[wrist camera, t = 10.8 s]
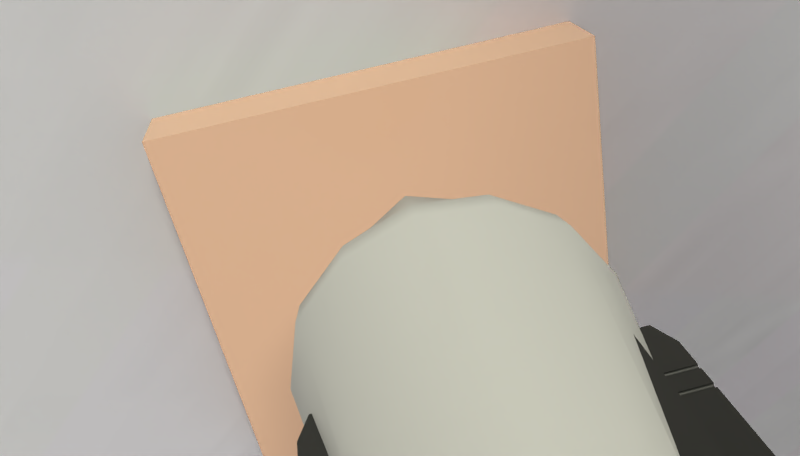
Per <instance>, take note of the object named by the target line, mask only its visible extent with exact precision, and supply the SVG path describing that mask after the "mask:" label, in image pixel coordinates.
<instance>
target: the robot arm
mask: <svg viewBox="0 0 800 456" xmlns="http://www.w3.org/2000/svg"><path fill="white" fill-rule="evenodd" d="M640 330H641V333H642V335H643V337H644V340H645V342H646V344H647V347H648V349H649V351H650V354H651V356H652V358H653V359H652V358H651V356H650V355H649V354H648V352H647V351H646V350H645V349H644V347H643V346H642V345H641V343H640V342H639V341H638V339H637V338H636V337H635V335H634V337H635V339H636V342H637V345H638V347H639V350H640V353H641V355H642V358H643V360H644V363H645V366H646V368H647V371H648V374H649V376H650V379H651V382H652V384H653V387H654V389H655V392H656V395H657V397H658V400H659V403H660V405H661V408H662V410H663V413H664V416H665V418H666V421H667V424H668V426H669V429H670V431H671V434H672V437H673V439H674V442H675V445H676V447H677V450H678V452H679V455H680V456H775V455H774V454H773V453H772V451H771V450H770V449H769V448H768V447H767V446H766V444H765V443H764V442H763V441H762V440H761V438H760V437H759V436H758V435H757V434H756V432H755V431H754V430H753V429H752V428H751V427H750V425H749V424H748V423H747V422H746V421H745V419H744V418H743V417H742V416H741V415H740V414H739V412H738V411H737V410H736V409H735V408H734V406H733V405H732V404H731V403H730V402H729V400H728V399H727V398H726V397H725V396H724V395H723V393H722V392H721V391H720V390H719V389H718V387H716V388H715V387H714V384H713V382H712V380H711V379H710V378H709V377H708V376H707V374H706V373H705V372H704V371H703V370H702V369H699V367H698V364H697V363H696V361H695V360H694V359H693V358H692V357H691V355H690V354H689V353H688V352H687V351H686V350H685V348H684V347H683V346H682V345H681V344H680V342H679V341H677V340H675V339H673V338H672V337H670V336H668V335H666V334H664V333H663V332H661V331H659V330H657V329H655V328H654V327H652V326H650V325H649V326H645V327H641V328H640ZM297 454H298V456H329V455H328V453H327V450H326V448H325V445H324V443H323V440H322V438H321V435H320V433H319V431H318V428H317V426H316V423H315V421H314V418H313V416H312V414H309V415H308V417H307V420H306V422H305V424H304V426H303V429H302V431H301V433H300V436H299V438H298V440H297Z"/></svg>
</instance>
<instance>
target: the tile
mask: <svg viewBox="0 0 800 456" xmlns="http://www.w3.org/2000/svg"><path fill="white" fill-rule="evenodd" d="M142 143H143V146H144V148H145V151H146V153H147V156H148V159H149V161H150V164H151V166H152V169H153V172H154V174H155V177H156V179H157V182H158V184H159V187H160V190H161V192H162V195H163V197H164V200H165V203H166V205H167V208H168V210H169V213H170V216H171V218H172V221H173V223H174V226H175V229H176V231H177V234H178V236H179V239H180V241H181V244H182V247H183V249H184V252H185V254H186V257H187V260H188V262H189V265H190V267H191V270H192V273H193V275H194V278H195V280H196V283H197V285H198V288H199V291H200V293H201V296H202V298H203V301H204V304H205V306H206V309H207V311H208V314H209V317H210V319H211V322H212V324H213V327H214V330H215V332H216V335H217V337H218V340H219V342H220V345H221V348H222V350H223V353H224V355H225V358H226V361H227V363H228V366H229V368H230V371H231V374H232V376H233V379H234V381H235V384H236V387H237V389H238V392H239V394H240V397H241V399H242V402H243V405H244V407H245V410H246V412H247V415H248V418H249V420H250V423H251V425H252V428H253V431H254V433H255V436H256V438H257V441H258V444H259V446H260V449H261V451H262V454H263V456H298V454H297V440H298V438H299V436H300V433H301V431H302V429H303V426H304V424H303V422H302V419H301V416H300V414H299V411H298V408H297V405H296V403H295V400H294V397H293V395H292V392H291V389H290V388H291V375H292V361H293V347H294V334H295V322H296V318H297V314H298V310H299V306H300V304H301V303H302V301H303V300H304V299H305V297H306V296H307V295H308V293H309V292H310V290H311V289H312V288H313V286H314V285H315V283H316V282H317V281H318V279H319V278H320V277H321V275H322V274H323V272H324V271H325V270H326V268H327V267H328V265H329V264H330V263H331V261H332V260H333V259H334V257H335V256H336V254H337V253H338V252H339V250H340V249H341V248H342V246H343V245H345V244H347V243H348V242H350V241H351V240H353V239H354V238H356V237H357V236H359V235H360V234H362V233H363V232H365V231H367V230H368V229H370V228H371V227H372V226H373V225H374V224H375V223H376V222H377V221H378V220H380V219H381V218H382V217H383V216H384V215H385V214H386V213H387V212H388V211H389V210H390V209H391V208H393V207H394V206H395V205H396V204H397V203H398V202H399V201H400V200H401V199H402V198H403V197H404V196H415V197H429V198H443V199H457V198H465V197H473V196H481V195H492V196H495V197H499V198H502V199H505V200H509V201H512V202H515V203H519V204H522V205H525V206H529V207H532V208H535V209H539V210H542V211H546V212H549V213H552V214H556V215H557V216H559V217H560V218H561V219H563V220H564V221H565V222H567V223H568V224H569V225H571V226H572V227H573V228H574V229H575V230H576V232H577V233H578V234H579V235H580V236H581V237H582V238H583V239H584V240H585V241H586V242H587V243H588V244H589V245H590V247H591V248H592V249H593V250H594V251H595V252H596V253H597V254H598V255H599V256H600V257H601V258H602V259H603V260H604V261H605V263H606V264H607V265H608V251H607V234H606V217H605V200H604V183H603V166H602V149H601V132H600V115H599V98H598V81H597V64H596V47H595V36H594V35H592V34H591V33H589V32H587V31H585V30H584V29H582V28H580V27H578V26H577V25H575V24H573V23H571V22H570V21H568V22H564V23H559V24H555V25H551V26H547V27H542V28H538V29H534V30H530V31H525V32H521V33H517V34H512V35H508V36H504V37H500V38H495V39H491V40H487V41H483V42H478V43H474V44H470V45H465V46H461V47H457V48H453V49H448V50H444V51H440V52H436V53H431V54H427V55H423V56H418V57H414V58H410V59H406V60H401V61H397V62H393V63H389V64H384V65H380V66H376V67H371V68H367V69H363V70H359V71H354V72H350V73H346V74H342V75H337V76H333V77H329V78H324V79H320V80H316V81H312V82H307V83H303V84H299V85H295V86H290V87H286V88H282V89H277V90H273V91H269V92H265V93H260V94H256V95H252V96H248V97H243V98H239V99H235V100H230V101H226V102H222V103H218V104H213V105H209V106H205V107H201V108H196V109H192V110H188V111H183V112H179V113H175V114H171V115H166V116H162V117H158V118H154V119H152V120H151V123H150V125H149V127H148V129H147V132H146V134H145V136H144V139H143V141H142Z"/></svg>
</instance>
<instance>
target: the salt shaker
mask: <svg viewBox="0 0 800 456" xmlns="http://www.w3.org/2000/svg"><path fill="white" fill-rule="evenodd" d="M634 335H635V337H636V338H637V339H638V341H639V342H640V343H641V345H642V346H643V347H644V349H645V350H646V351H647V352H648V354H649V355H650V356H651V354H650V351H649V349H648V347H647V344H646V342H645V340H644V337H643V335H642V333H641V330H640V328H639V326H638V323H637V321H636V319H635V316H634V314H633V312H632V310H631V307H630V305H629V303H628V300H627V298H626V296H625V293H624V291H623V289H622V286H621V284H620V282H619V279H618V277H617V275H616V273H615V272H614V271H613V270H612V269H611V268H610V267H609V266H608V265H607V264H606V263H605V261H604V260H603V259H602V258H601V257H600V256H599V255H598V254H597V253H596V252H595V251H594V250H593V249H592V248H591V247H590V245H589V244H588V243H587V242H586V241H585V240H584V239H583V238H582V237H581V236H580V235H579V234H578V233H577V232H576V230H575V229H574V228H573V227H572V226H571V225H569V224H568V223H567V222H565V221H564V220H563V219H561V218H560V217H559V216H557V215H556V214H552V213H549V212H546V211H542V210H539V209H535V208H532V207H529V206H525V205H522V204H519V203H515V202H512V201H509V200H505V199H502V198H499V197H495V196H492V195H481V196H473V197H465V198H457V199H443V198H429V197H415V196H404V197H403V198H402V199H401V200H400V201H399V202H398V203H397V204H396V205H395V206H394V207H393V208H391V209H390V210H389V211H388V212H387V213H386V214H385V215H384V216H383V217H382V218H381V219H380V220H378V221H377V222H376V223H375V224H374V225H373V226H372V227H371V228H370V229H368V230H367V231H365V232H363V233H362V234H360V235H359V236H357V237H356V238H354V239H353V240H351V241H350V242H348V243H347V244H345V245H343V246H342V248H341V249H340V250H339V252H338V253H337V254H336V256H335V257H334V259H333V260H332V261H331V263H330V264H329V265H328V267H327V268H326V270H325V271H324V272H323V274H322V275H321V277H320V278H319V279H318V281H317V282H316V283H315V285H314V286H313V288H312V289H311V290H310V292H309V293H308V295H307V296H306V297H305V299H304V300H303V301H302V303H301V304H300V306H299V310H298V314H297V318H296V322H295V334H294V347H293V361H292V375H291V388H290V389H291V392H292V395H293V397H294V400H295V403H296V405H297V408H298V411H299V414H300V416H301V419H302V422H303V424H305V422H306V420H307V417H308V415H309V414H312V416H313V418H314V421H315V423H316V426H317V428H318V431H319V433H320V435H321V438H322V440H323V443H324V445H325V448H326V450H327V453H328V455H329V456H680V455H679V452H678V450H677V447H676V445H675V442H674V439H673V437H672V434H671V431H670V429H669V426H668V424H667V421H666V418H665V416H664V413H663V410H662V408H661V405H660V403H659V400H658V397H657V395H656V392H655V389H654V387H653V384H652V382H651V379H650V376H649V374H648V371H647V368H646V366H645V363H644V360H643V358H642V355H641V353H640V350H639V347H638V345H637V342H636V339H635V337H634ZM651 358H652V356H651ZM652 359H653V358H652Z"/></svg>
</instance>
